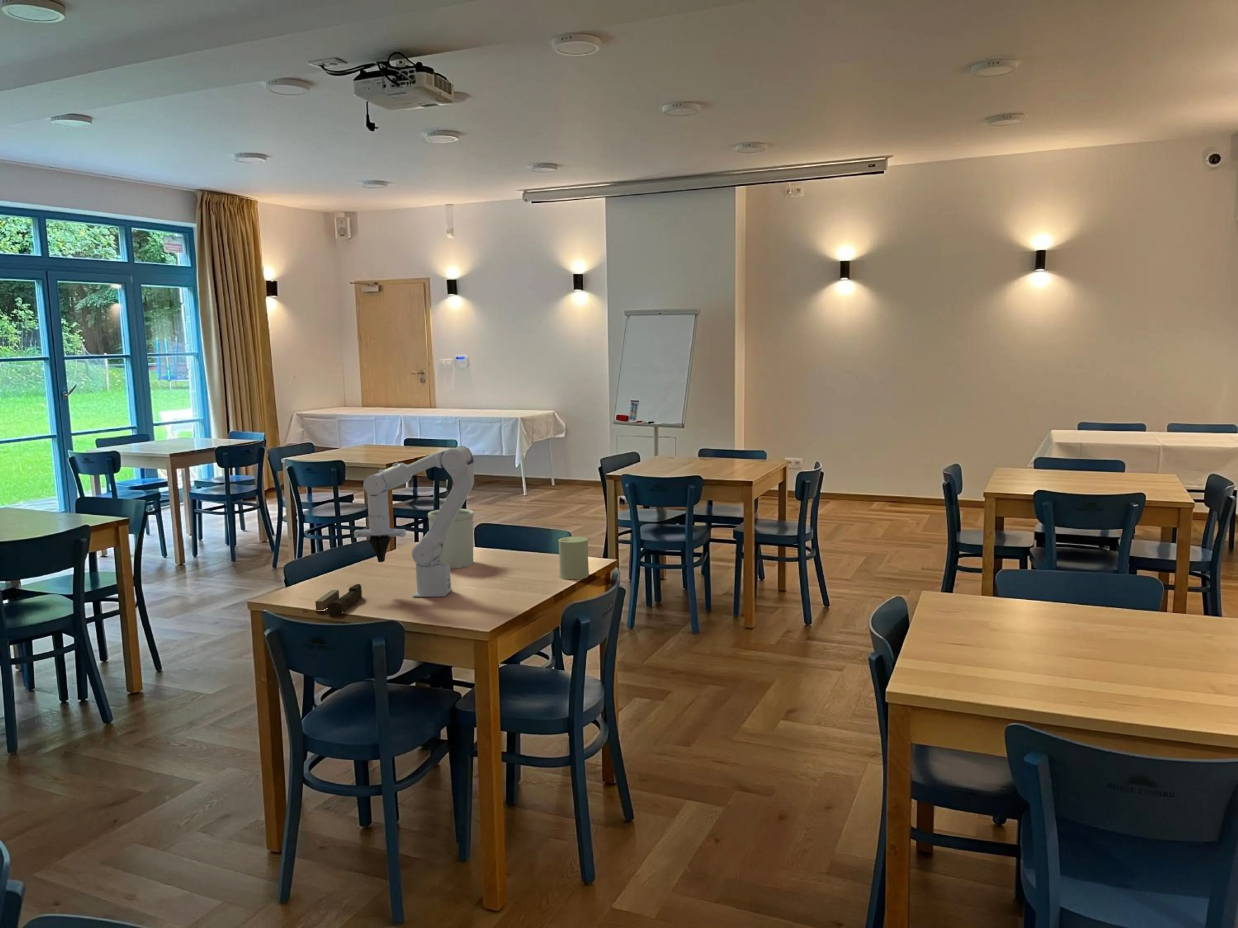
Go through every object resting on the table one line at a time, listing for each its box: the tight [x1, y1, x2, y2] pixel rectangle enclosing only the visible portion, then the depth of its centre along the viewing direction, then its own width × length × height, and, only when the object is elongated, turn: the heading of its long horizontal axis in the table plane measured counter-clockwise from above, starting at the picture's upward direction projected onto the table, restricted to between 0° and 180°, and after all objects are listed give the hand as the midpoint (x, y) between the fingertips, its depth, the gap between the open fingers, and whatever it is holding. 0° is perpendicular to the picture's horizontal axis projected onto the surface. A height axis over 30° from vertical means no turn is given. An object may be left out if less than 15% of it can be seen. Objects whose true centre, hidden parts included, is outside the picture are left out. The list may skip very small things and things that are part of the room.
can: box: [557, 536, 590, 580], centre depth 275 cm, size 9×9×12 cm
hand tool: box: [327, 583, 363, 617], centre depth 247 cm, size 19×4×5 cm, turn 172°
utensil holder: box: [427, 508, 475, 570], centre depth 294 cm, size 15×15×18 cm
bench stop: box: [314, 589, 340, 611], centre depth 248 cm, size 2×12×3 cm, turn 177°
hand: (381, 561), depth 260 cm, fingers closed
